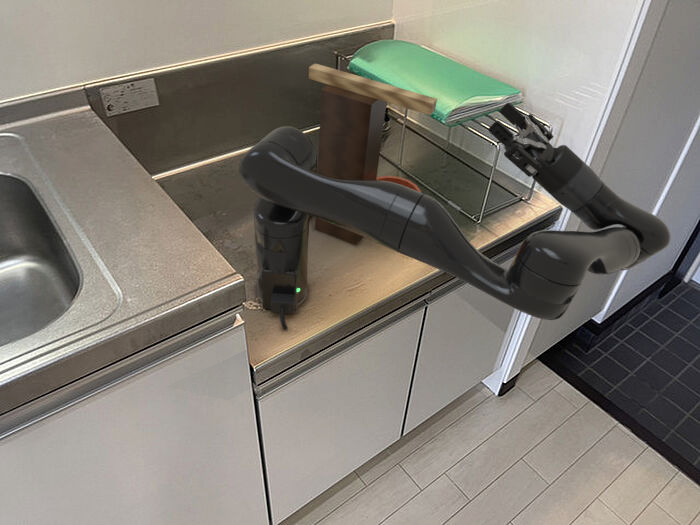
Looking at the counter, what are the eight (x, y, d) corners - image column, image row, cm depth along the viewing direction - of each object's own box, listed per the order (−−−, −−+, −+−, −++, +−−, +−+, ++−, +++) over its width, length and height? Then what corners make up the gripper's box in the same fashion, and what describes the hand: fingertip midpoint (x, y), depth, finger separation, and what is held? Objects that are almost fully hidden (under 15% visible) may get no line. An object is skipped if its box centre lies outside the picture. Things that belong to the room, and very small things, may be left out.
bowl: (418, 232, 120) (423, 211, 116) (361, 228, 120) (364, 206, 116) (415, 199, 129) (419, 178, 125) (363, 194, 129) (365, 173, 125)
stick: (435, 110, 94) (437, 98, 92) (430, 115, 92) (432, 103, 91) (314, 74, 101) (315, 63, 99) (308, 78, 99) (308, 67, 98)
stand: (370, 227, 120) (388, 90, 98) (355, 245, 115) (371, 104, 94) (330, 212, 123) (339, 76, 101) (315, 229, 118) (321, 89, 97)
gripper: (543, 211, 91) (472, 146, 90) (556, 174, 101) (492, 115, 100) (579, 183, 86) (504, 114, 85) (589, 147, 96) (522, 85, 95)
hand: (498, 115), depth 92 cm, fingers open, 8 cm apart
